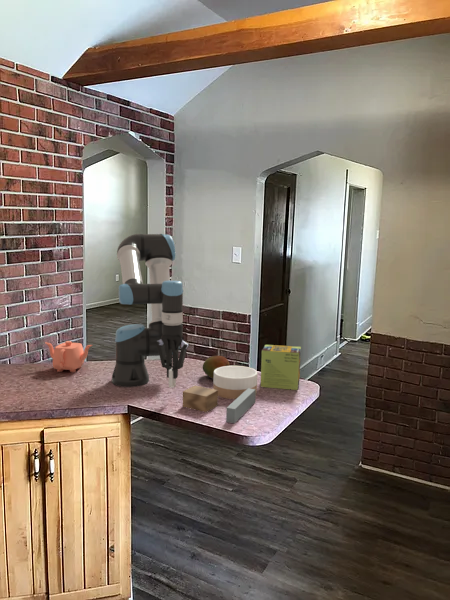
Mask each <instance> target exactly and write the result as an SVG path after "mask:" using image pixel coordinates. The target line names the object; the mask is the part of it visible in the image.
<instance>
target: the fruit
mask: <svg viewBox="0 0 450 600" xmlns="http://www.w3.org/2000/svg"><path fill="white" fill-rule="evenodd" d="M223 366H231V364H230V362H229V360H228V359H227V358H226V357H225V356H223V355H212V356H210V357H208V358H207V359H206V360H204V362H203V364H202V371H203V372H204V373H205V375H207V377H209V378H211V379H213V377H214V370H215V369H217V368H219V367H223Z"/></svg>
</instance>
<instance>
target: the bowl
mask: <svg viewBox="0 0 450 600" xmlns="http://www.w3.org/2000/svg"><path fill="white" fill-rule="evenodd" d="M212 380H213V381H212V382H213V385H212V386H213V387H212V389H215V390H218V398H219V397H220V398H223V399H228V400H236V399H237V398H238V397H239V396H240V395H241V394H242V393H243V392H244V391H246V390H247V389H248V388H250V389H256V395H257V392H258V391H257V389H258V371H257V370H256V369H255V368H253V367H248V366H243V365H230V366H223V367H219V368H217V369H215V370H214V377H213V378H212Z"/></svg>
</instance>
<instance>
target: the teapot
mask: <svg viewBox="0 0 450 600" xmlns="http://www.w3.org/2000/svg"><path fill="white" fill-rule="evenodd" d="M44 343H45V345H47V346H48V350H49V355H50V358H51V359H52V367H53V369H54V370H56V372H57V373H58V372H59V373H60V372H63V371H64V370H66V371H67V370H69V373H77V369H82V366H83V365H84V364H85V360H86V359H87V358H88V354H89V350H90V348H91V347H93V344H87V345H86V346H85V348H84V347H83V344H82V342H81V343H80V342H73V341H71V340H66V341H64V342H62V343H60V344H57V345H56V346H55V347H54V346H53V344H52V343H50V342H48V341H46V342H44Z"/></svg>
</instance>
